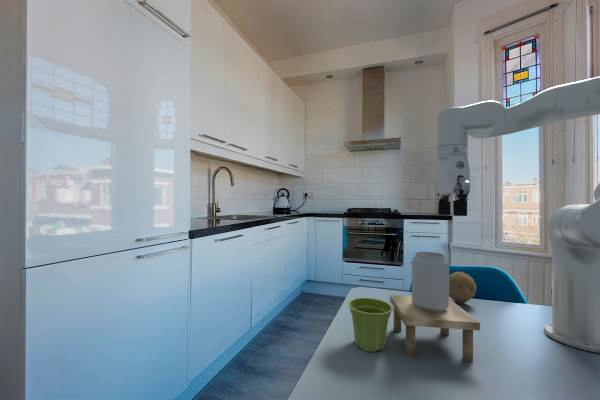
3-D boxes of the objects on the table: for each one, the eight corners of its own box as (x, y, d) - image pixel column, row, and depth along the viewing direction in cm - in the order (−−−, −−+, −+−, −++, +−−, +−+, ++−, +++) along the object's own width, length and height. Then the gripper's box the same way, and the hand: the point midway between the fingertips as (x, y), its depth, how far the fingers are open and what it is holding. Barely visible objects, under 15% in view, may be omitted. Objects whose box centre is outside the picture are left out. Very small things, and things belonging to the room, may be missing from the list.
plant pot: (391, 361, 52) (392, 316, 52) (343, 351, 55) (344, 309, 56) (392, 339, 61) (393, 300, 61) (351, 331, 64) (351, 295, 64)
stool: (448, 331, 65) (448, 298, 66) (479, 364, 52) (479, 322, 52) (389, 327, 67) (390, 295, 67) (404, 358, 53) (405, 317, 53)
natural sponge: (478, 311, 79) (479, 277, 79) (444, 305, 83) (444, 273, 83) (474, 301, 87) (474, 270, 87) (443, 297, 91) (443, 267, 91)
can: (454, 315, 55) (454, 257, 55) (415, 311, 57) (416, 255, 57) (442, 302, 62) (442, 251, 63) (408, 299, 64) (408, 249, 64)
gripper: (483, 146, 65) (483, 216, 65) (452, 159, 82) (452, 214, 82) (451, 146, 66) (451, 216, 66) (426, 159, 83) (426, 214, 83)
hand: (451, 215), depth 74 cm, fingers open, 9 cm apart
